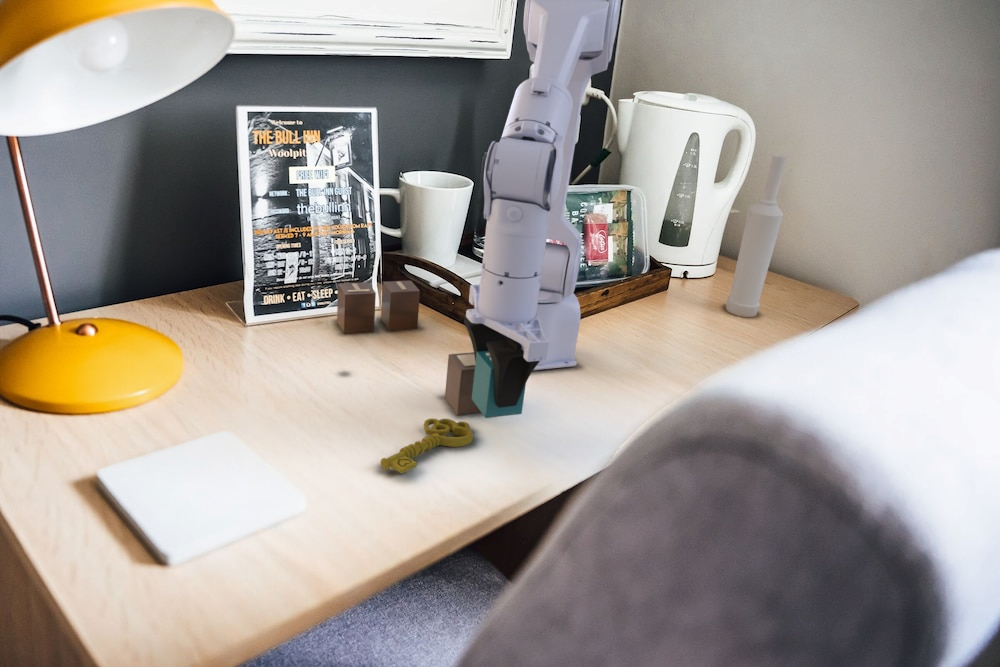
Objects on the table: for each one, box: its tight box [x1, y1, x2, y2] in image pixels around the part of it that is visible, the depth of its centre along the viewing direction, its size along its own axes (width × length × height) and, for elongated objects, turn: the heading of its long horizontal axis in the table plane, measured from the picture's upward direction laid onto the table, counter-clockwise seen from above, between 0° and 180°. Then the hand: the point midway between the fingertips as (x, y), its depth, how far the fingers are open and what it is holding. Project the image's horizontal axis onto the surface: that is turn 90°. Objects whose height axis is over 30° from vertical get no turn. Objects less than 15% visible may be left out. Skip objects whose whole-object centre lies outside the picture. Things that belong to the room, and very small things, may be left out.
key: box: [380, 418, 474, 474], centre depth 77 cm, size 12×1×5 cm
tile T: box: [336, 281, 377, 335], centre depth 101 cm, size 4×4×6 cm
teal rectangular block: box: [472, 351, 527, 419], centre depth 78 cm, size 4×4×6 cm
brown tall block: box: [444, 351, 482, 416], centre depth 85 cm, size 4×4×6 cm
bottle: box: [725, 154, 788, 318], centre depth 119 cm, size 5×5×25 cm
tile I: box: [380, 280, 421, 332], centre depth 103 cm, size 4×4×6 cm
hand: (497, 394), depth 78 cm, fingers closed on teal rectangular block, 4 cm apart
